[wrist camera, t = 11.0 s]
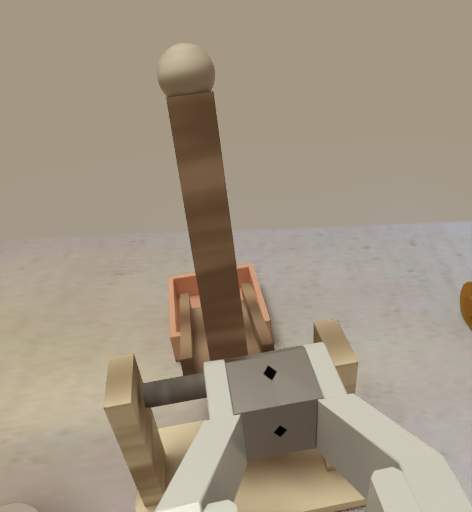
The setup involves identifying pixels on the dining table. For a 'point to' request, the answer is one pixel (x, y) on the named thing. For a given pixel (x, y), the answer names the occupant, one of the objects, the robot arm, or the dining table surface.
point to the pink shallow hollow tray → (189, 285)
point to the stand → (257, 471)
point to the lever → (204, 234)
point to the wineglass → (17, 508)
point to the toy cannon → (466, 303)
